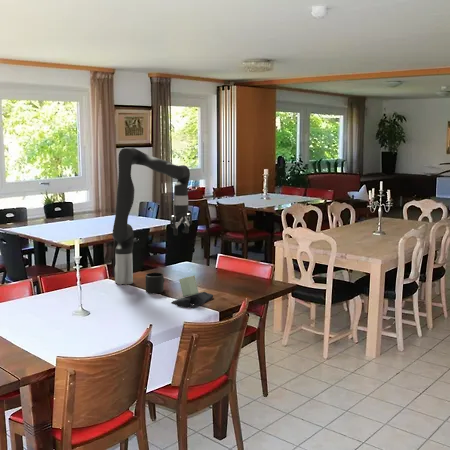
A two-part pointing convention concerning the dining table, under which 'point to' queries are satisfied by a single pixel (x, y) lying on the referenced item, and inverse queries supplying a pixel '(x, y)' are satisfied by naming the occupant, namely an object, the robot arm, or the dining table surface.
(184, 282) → the pale green block
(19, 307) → the dining table surface
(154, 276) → the mug
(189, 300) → the dark slate chunk
